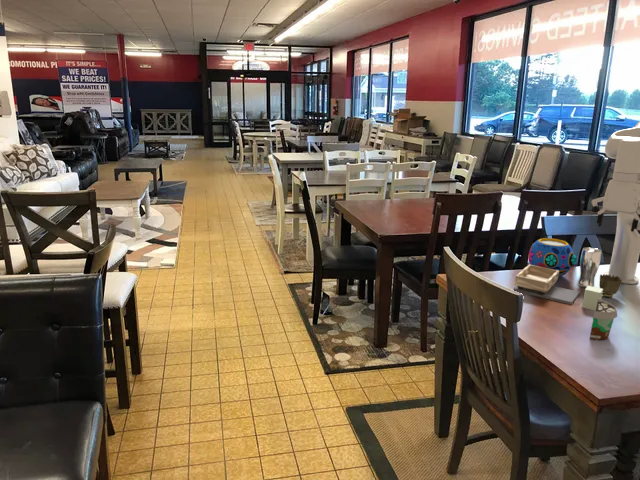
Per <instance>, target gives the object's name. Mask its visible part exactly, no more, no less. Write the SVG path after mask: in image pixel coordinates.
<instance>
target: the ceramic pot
mask: <svg viewBox="0 0 640 480" xmlns="http://www.w3.org/2000/svg"><path fill="white" fill-rule="evenodd" d="M527 255H528V265H529V264H530V265H534V266H539V267H544V268H549V269H554V270H558V271H559V276H558V278H560V277H563V276H565V275H566V274H567V273H569V271H570V270H571V269H572V267H573V266H575V264H576V262H577V255H576V254H575V253H574V251H573V247H572V246H571V245H570V244H569V243H568V242H567V241H566V240H562V239H559V238H551V237H550V238H549V237H545V238H544V237H543V238H540V239H537V240H535V242H534V243H532V245H531V246H530V249H529V252H528V254H527Z"/></svg>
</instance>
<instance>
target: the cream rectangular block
mask: <svg viewBox="0 0 640 480" xmlns="http://www.w3.org/2000/svg"><path fill="white" fill-rule="evenodd" d="M602 293H603V289H601V288H600V287H596V286H594V287H592V286H587V288H585V289H584V294H583V301H582V305H581V308H583V309H587V310H591V311H595V310H596V306H597V301H598V299H599V300H602V297H603V295H602Z"/></svg>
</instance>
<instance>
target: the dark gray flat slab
mask: <svg viewBox="0 0 640 480" xmlns="http://www.w3.org/2000/svg"><path fill="white" fill-rule="evenodd" d="M513 290H515V291H514V292H517V291H518V292H517V293H521V294H524V295H525V294H526V295H531V296H533V297H537V298H543V299H547V300H550V301H554V302H559V303H562V304H566V303H567V305H571V306H572V305H573V303H574V302H575V301H576V299H577V298H578V297H579V295H580V291H576V290H573V289H567V288H563V287H560V286H555V285H553V286H552V287H551V288H550V289H549V290H548V291H547V292H545V294H544V295H541V294H540V293H539V291H537V290H533V289H529V288H525V287H524V288H523V289H522V290H519V289H518V286H516V285H515V286H514V287H513Z"/></svg>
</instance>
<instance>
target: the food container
mask: <svg viewBox="0 0 640 480" xmlns="http://www.w3.org/2000/svg"><path fill="white" fill-rule="evenodd" d="M593 313H594V314H593V318H592V323H591V330H590V333H589V334H590V335H589V340H591V341H598V342H599V341H600V342H602V341H607V340H608V339H609V337H610V334H611V329H612V326H613V323H614V320H615V318H617V317H618V310H617V307H616V306H615V305H614V304H613V303H610V302H608V301H605V300H602V299H601V300H599V299H598V301H597V306H596V310H594V312H593Z"/></svg>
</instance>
